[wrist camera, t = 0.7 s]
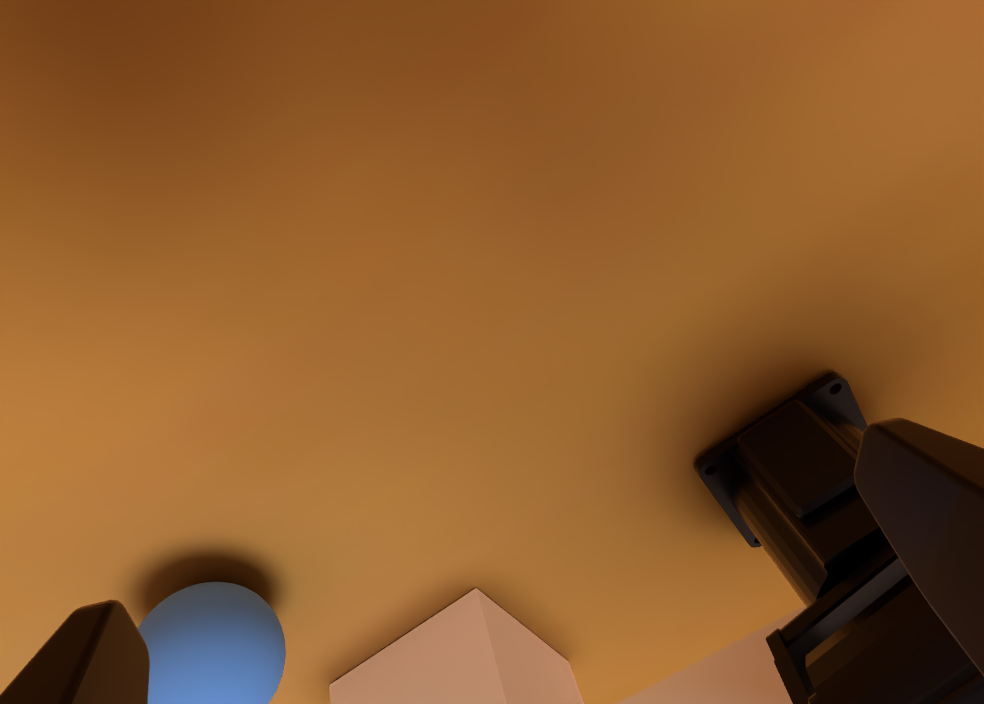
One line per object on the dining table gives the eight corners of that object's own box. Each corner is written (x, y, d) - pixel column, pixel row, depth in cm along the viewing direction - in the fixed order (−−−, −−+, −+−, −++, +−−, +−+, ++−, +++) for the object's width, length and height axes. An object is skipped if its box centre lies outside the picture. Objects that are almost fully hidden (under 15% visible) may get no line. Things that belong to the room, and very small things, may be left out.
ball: (314, 593, 27) (318, 719, 23) (215, 662, 27) (201, 795, 23) (213, 528, 24) (196, 658, 20) (105, 606, 25) (68, 746, 21)
